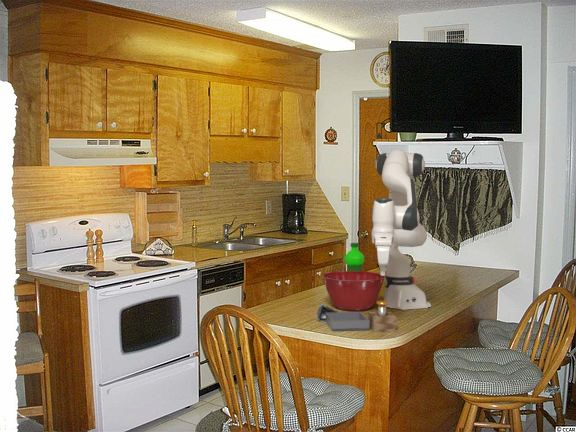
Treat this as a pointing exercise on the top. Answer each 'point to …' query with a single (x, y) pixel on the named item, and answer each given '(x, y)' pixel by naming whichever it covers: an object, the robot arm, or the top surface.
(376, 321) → the hitch block
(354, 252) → the plastic bottle
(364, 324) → the tray
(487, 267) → the top surface
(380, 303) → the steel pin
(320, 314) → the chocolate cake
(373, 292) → the mixing bowl
